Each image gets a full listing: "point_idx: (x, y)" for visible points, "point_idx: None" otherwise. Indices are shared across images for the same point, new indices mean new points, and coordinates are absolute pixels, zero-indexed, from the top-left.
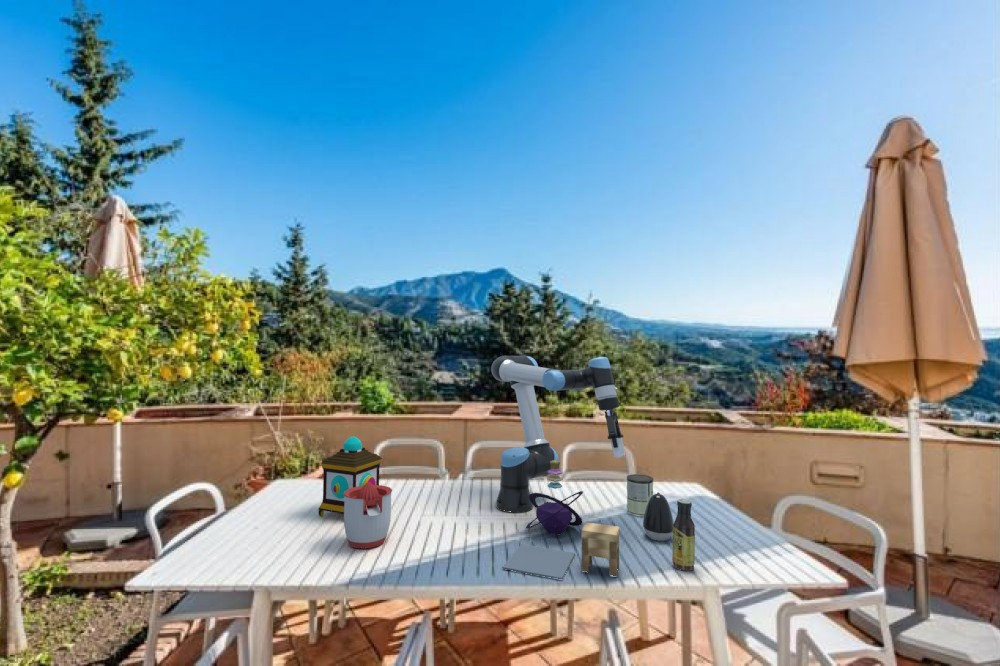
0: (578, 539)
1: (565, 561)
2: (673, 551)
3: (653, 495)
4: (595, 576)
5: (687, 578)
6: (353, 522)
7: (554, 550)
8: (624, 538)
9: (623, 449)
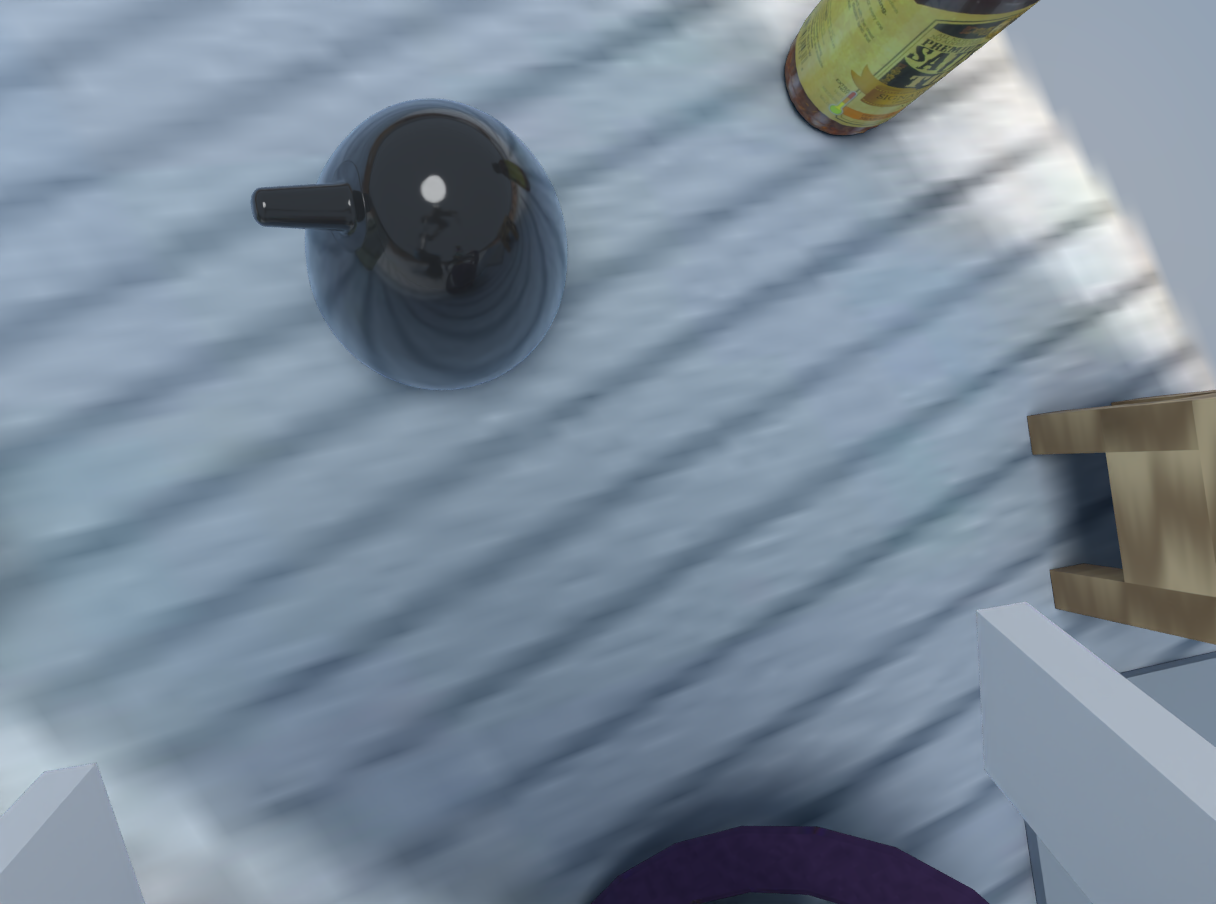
0: (766, 787)
1: None
2: (922, 93)
3: (466, 230)
4: None
5: None
6: None
7: None
8: (578, 508)
9: (4, 894)
